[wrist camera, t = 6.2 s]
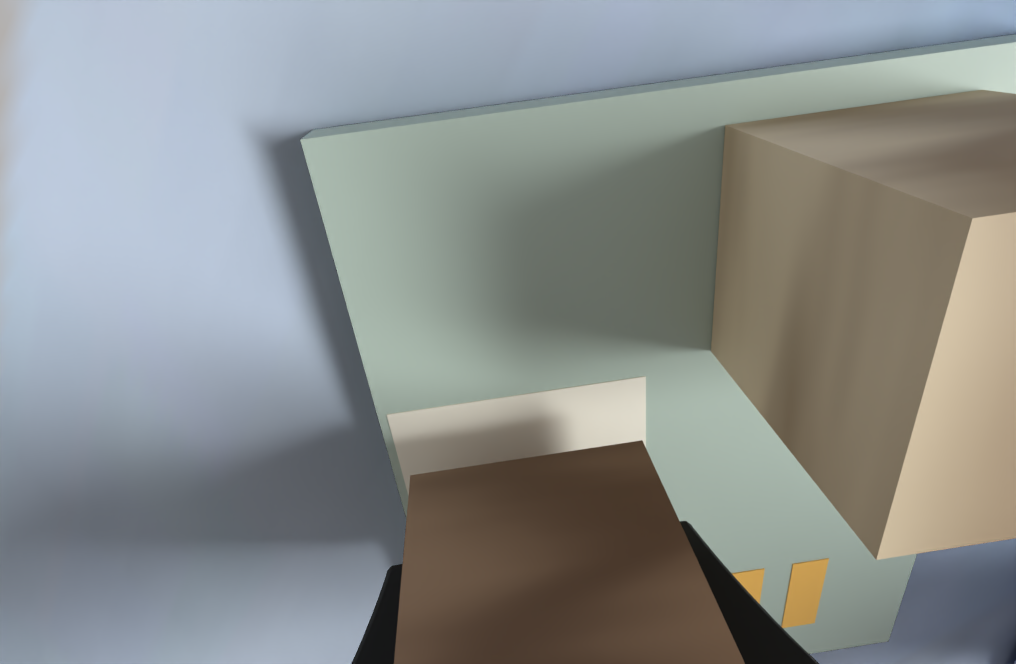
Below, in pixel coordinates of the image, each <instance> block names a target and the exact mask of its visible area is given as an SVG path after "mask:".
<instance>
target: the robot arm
mask: <svg viewBox="0 0 1016 664" xmlns="http://www.w3.org/2000/svg"><path fill="white" fill-rule="evenodd" d="M680 523H681V526H682V528H683V530H684V532H685V534H686V536H687V539H688V541H689V543H690V545H691V547H692V549H693V552H694V554H695V556H696V558H697V560H698V562H699V565H700V567H701V569H702V571H703V573H704V576H705V578H706V580H707V582H708V584H709V586H710V589H711V591H712V593H713V595H714V597H715V599H716V602H717V604H718V606H719V608H720V610H721V613H722V615H723V617H724V619H725V621H726V623H727V626H728V628H729V630H730V632H731V634H732V636H733V639H734V641H735V643H736V645H737V647H738V650H739V652H740V654H741V656H742V658H743V660H744V663H745V664H819V663H818V662H817V661H816V660H815V659H814V658H813V657H812V656H811V655H810V654H809V653H808V652H806V651H805V650H804V649H803V648H802V647H801V646H800V645H799V644H798V643H797V642H796V641H795V640H794V639H793V638H792V637H791V636H790V635H789V634H788V633H787V632H786V631H785V630H784V629H783V628H782V627H781V626H780V625H779V624H778V623H777V622H776V621H775V620H774V619H773V618H772V617H771V616H770V614H769V613H768V612H767V611H766V610H765V609H764V608H763V607H762V606H761V605H760V604H759V603H758V602H757V601H756V600H755V599H754V598H753V597H752V595H751V594H750V593H749V592H748V591H747V590H746V589H745V588H744V587H743V586H742V585H741V583H740V582H739V581H738V580H737V579H736V578H735V577H734V576H733V574H732V573H731V572H730V571H729V570H728V569H727V568H726V566H725V565H724V564H723V563H722V562H721V561H720V559H719V558H718V557H717V556H716V555H715V554H714V552H713V551H712V550H711V549H710V548H709V546H708V545H707V544H706V543H705V541H704V540H703V539H702V538H701V537H700V535H699V534H698V533H697V532H696V530H695V529H694V528H693V526H692V525H691V524H690V523H688V522H687V521H680ZM402 565H403V564H400V565H394V566H391V567H390V569H389V570H388V571H387V574H386V577H385V580H384V583H383V586H382V589H381V592H380V595H379V598H378V600H377V603H376V606H375V609H374V611H373V614H372V616H371V619H370V621H369V624H368V626H367V629H366V631H365V634H364V636H363V639H362V641H361V643H360V646H359V648H358V650H357V652H356V655H355V657H354V659H353V662H352V664H394V657H395V645H396V634H397V622H398V611H399V599H400V588H401V576H402ZM1014 664H1016V661H1015V663H1014Z"/></svg>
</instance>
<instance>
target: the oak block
mask: <svg viewBox="0 0 1016 664" xmlns="http://www.w3.org/2000/svg"><path fill="white" fill-rule="evenodd" d="M711 352H712V353H713V355H714V356H715V357H716V358H717V360H718V361H719V362H720V363H721V365H722V366H723V367H724V368H725V370H726V371H727V372H728V374H729V375H730V376H731V377H732V379H733V380H734V381H735V382H736V384H737V385H738V386H739V387H740V389H741V390H742V391H743V392H744V394H745V395H746V396H747V398H748V399H749V400H750V401H751V403H752V404H753V405H754V406H755V408H756V409H757V410H758V411H759V413H760V414H761V415H762V416H763V418H764V419H765V420H766V421H767V423H768V424H769V425H770V427H771V428H772V429H773V430H774V432H775V433H776V434H777V435H778V437H779V438H780V439H781V440H782V442H783V443H784V444H785V445H786V447H787V448H788V449H789V451H790V452H791V453H792V454H793V456H794V457H795V458H796V459H797V461H798V462H799V463H800V464H801V466H802V467H803V468H804V469H805V471H806V472H807V473H808V475H809V476H810V477H811V478H812V480H813V481H814V482H815V483H816V485H817V486H818V487H819V488H820V490H821V491H822V492H823V493H824V495H825V496H826V497H827V498H828V500H829V501H830V502H831V504H832V505H833V506H834V507H835V509H836V510H837V511H838V512H839V514H840V515H841V516H842V517H843V519H844V520H845V521H846V522H847V524H848V525H849V526H850V528H851V529H852V530H853V531H854V533H855V534H856V535H857V536H858V538H859V539H860V540H861V541H862V543H863V544H864V545H865V546H866V548H867V549H868V550H869V552H870V553H871V554H872V555H873V557H874V558H875V559H876V560H880V559H886V558H892V557H899V556H905V555H912V554H918V553H924V552H931V551H937V550H944V549H950V548H956V547H963V546H969V545H975V544H982V543H988V542H995V541H1001V540H1007V539H1014V538H1016V94H1012V93H1005V92H997V91H989V90H976V91H969V92H962V93H954V94H947V95H940V96H933V97H925V98H918V99H911V100H904V101H896V102H889V103H882V104H875V105H867V106H860V107H853V108H846V109H838V110H831V111H824V112H817V113H810V114H802V115H795V116H788V117H781V118H773V119H766V120H759V121H752V122H744V123H737V124H730V125H725V136H724V151H723V167H722V183H721V199H720V215H719V231H718V247H717V262H716V278H715V294H714V310H713V326H712V342H711Z"/></svg>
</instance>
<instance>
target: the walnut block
mask: <svg viewBox="0 0 1016 664" xmlns="http://www.w3.org/2000/svg"><path fill="white" fill-rule="evenodd" d="M394 664H745V663H744V660H743V658H742V656H741V654H740V652H739V650H738V647H737V645H736V643H735V641H734V639H733V636H732V634H731V632H730V630H729V628H728V626H727V623H726V621H725V619H724V617H723V615H722V613H721V610H720V608H719V606H718V604H717V602H716V599H715V597H714V595H713V593H712V591H711V589H710V586H709V584H708V582H707V580H706V578H705V576H704V573H703V571H702V569H701V567H700V565H699V562H698V560H697V558H696V556H695V554H694V552H693V549H692V547H691V545H690V543H689V541H688V539H687V536H686V534H685V532H684V530H683V528H682V526H681V523H680V521H679V519H678V517H677V515H676V512H675V510H674V508H673V506H672V504H671V502H670V499H669V497H668V495H667V493H666V491H665V489H664V486H663V484H662V482H661V480H660V478H659V475H658V473H657V471H656V469H655V467H654V465H653V462H652V460H651V458H650V456H649V454H648V452H647V449H646V447H645V445H644V443H643V441H642V440H641V441H634V442H628V443H621V444H614V445H608V446H601V447H595V448H588V449H581V450H575V451H568V452H561V453H555V454H548V455H542V456H535V457H528V458H522V459H515V460H508V461H502V462H495V463H488V464H482V465H475V466H469V467H462V468H455V469H449V470H442V471H435V472H429V473H422V474H416V475H410V484H409V496H408V507H407V519H406V530H405V542H404V553H403V565H402V576H401V588H400V599H399V611H398V622H397V634H396V645H395V657H394Z"/></svg>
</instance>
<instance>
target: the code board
mask: <svg viewBox="0 0 1016 664" xmlns="http://www.w3.org/2000/svg"><path fill="white" fill-rule="evenodd" d="M976 90H989V91H997V92H1005V93H1012V94H1016V34H1013V35H1006V36H999V37H991V38H984V39H976V40H969V41H962V42H954V43H947V44H940V45H932V46H925V47H918V48H910V49H903V50H896V51H888V52H881V53H873V54H866V55H859V56H851V57H844V58H837V59H829V60H822V61H815V62H807V63H800V64H793V65H785V66H778V67H771V68H763V69H756V70H748V71H741V72H734V73H726V74H719V75H712V76H704V77H697V78H690V79H682V80H675V81H668V82H660V83H653V84H645V85H638V86H631V87H623V88H616V89H609V90H601V91H594V92H587V93H579V94H572V95H565V96H557V97H550V98H543V99H535V100H528V101H520V102H513V103H506V104H498V105H491V106H484V107H476V108H469V109H462V110H454V111H447V112H440V113H432V114H425V115H418V116H410V117H403V118H395V119H388V120H381V121H373V122H366V123H359V124H351V125H344V126H337V127H329V128H322V129H315V130H312V131H311V132H309V133H308V134H307V135H306V136H304V137H303V138H302V139H300V141H301V144H302V148H303V152H304V155H305V159H306V162H307V166H308V169H309V173H310V177H311V180H312V184H313V187H314V191H315V194H316V198H317V202H318V205H319V209H320V212H321V216H322V219H323V223H324V227H325V230H326V234H327V237H328V241H329V244H330V248H331V252H332V255H333V259H334V262H335V266H336V269H337V273H338V277H339V280H340V284H341V287H342V291H343V294H344V298H345V302H346V305H347V309H348V312H349V316H350V319H351V323H352V327H353V330H354V334H355V337H356V341H357V345H358V348H359V352H360V355H361V359H362V362H363V366H364V370H365V373H366V377H367V380H368V384H369V387H370V391H371V395H372V398H373V402H374V405H375V409H376V412H377V416H378V420H379V423H380V427H381V430H382V434H383V437H384V441H385V445H386V448H387V452H388V455H389V459H390V462H391V466H392V470H393V473H394V477H395V480H396V484H397V487H398V491H399V495H400V498H401V502H402V505H403V509H404V512H405V516H406V519H407V507H408V496H409V484H410V475H416V474H422V473H429V472H435V471H442V470H449V469H455V468H462V467H469V466H475V465H482V464H488V463H495V462H502V461H508V460H515V459H522V458H528V457H535V456H542V455H548V454H555V453H561V452H568V451H575V450H581V449H588V448H595V447H601V446H608V445H614V444H621V443H628V442H634V441H641V440H642V441H643V443H644V445H645V447H646V449H647V452H648V454H649V456H650V458H651V460H652V462H653V465H654V467H655V469H656V471H657V473H658V475H659V478H660V480H661V482H662V484H663V486H664V489H665V491H666V493H667V495H668V497H669V499H670V502H671V504H672V506H673V508H674V510H675V512H676V515H677V517H678V519H679V521H687V522H688V523H690V524H691V525H692V526H693V528H694V529H695V530H696V532H697V533H698V534H699V535H700V537H701V538H702V539H703V540H704V541H705V543H706V544H707V545H708V546H709V548H710V549H711V550H712V551H713V552H714V554H715V555H716V556H717V557H718V558H719V559H720V561H721V562H722V563H723V564H724V565H725V566H726V568H727V569H728V570H729V571H730V572H731V573H732V574H733V576H734V577H735V578H736V579H737V580H738V581H739V582H740V583H741V585H742V586H743V587H744V588H745V589H746V590H747V591H748V592H749V593H750V594H751V595H752V597H753V598H754V599H755V600H756V601H757V602H758V603H759V604H760V605H761V606H762V607H763V608H764V609H765V610H766V611H767V612H768V613H769V614H770V616H771V617H772V618H773V619H774V620H775V621H776V622H777V623H778V624H779V625H780V626H781V627H782V628H783V629H784V630H785V631H786V632H787V633H788V634H789V635H790V636H791V637H792V638H793V639H794V640H795V641H796V642H797V643H798V644H799V645H800V646H801V647H802V648H803V649H804V650H805V651H806V652H808V653H809V654H813V653H819V652H825V651H832V650H838V649H844V648H850V647H857V646H863V645H869V644H875V643H882V642H888V641H889V638H890V635H891V632H892V629H893V626H894V623H895V619H896V616H897V613H898V610H899V607H900V604H901V601H902V598H903V595H904V592H905V589H906V586H907V583H908V580H909V577H910V574H911V571H912V568H913V565H914V562H915V559H916V556H917V554H912V555H905V556H899V557H892V558H886V559H880V560H876V559H875V558H874V557H873V555H872V554H871V553H870V552H869V550H868V549H867V548H866V546H865V545H864V544H863V543H862V541H861V540H860V539H859V538H858V536H857V535H856V534H855V533H854V531H853V530H852V529H851V528H850V526H849V525H848V524H847V522H846V521H845V520H844V519H843V517H842V516H841V515H840V514H839V512H838V511H837V510H836V509H835V507H834V506H833V505H832V504H831V502H830V501H829V500H828V498H827V497H826V496H825V495H824V493H823V492H822V491H821V490H820V488H819V487H818V486H817V485H816V483H815V482H814V481H813V480H812V478H811V477H810V476H809V475H808V473H807V472H806V471H805V469H804V468H803V467H802V466H801V464H800V463H799V462H798V461H797V459H796V458H795V457H794V456H793V454H792V453H791V452H790V451H789V449H788V448H787V447H786V445H785V444H784V443H783V442H782V440H781V439H780V438H779V437H778V435H777V434H776V433H775V432H774V430H773V429H772V428H771V427H770V425H769V424H768V423H767V421H766V420H765V419H764V418H763V416H762V415H761V414H760V413H759V411H758V410H757V409H756V408H755V406H754V405H753V404H752V403H751V401H750V400H749V399H748V398H747V396H746V395H745V394H744V392H743V391H742V390H741V389H740V387H739V386H738V385H737V384H736V382H735V381H734V380H733V379H732V377H731V376H730V375H729V374H728V372H727V371H726V370H725V368H724V367H723V366H722V365H721V363H720V362H719V361H718V360H717V358H716V357H715V356H714V355H713V353H712V352H711V342H712V326H713V310H714V294H715V278H716V262H717V247H718V231H719V215H720V199H721V183H722V167H723V151H724V136H725V125H730V124H737V123H744V122H752V121H759V120H766V119H773V118H781V117H788V116H795V115H802V114H810V113H817V112H824V111H831V110H838V109H846V108H853V107H860V106H867V105H875V104H882V103H889V102H896V101H904V100H911V99H918V98H925V97H933V96H940V95H947V94H954V93H962V92H969V91H976Z"/></svg>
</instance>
